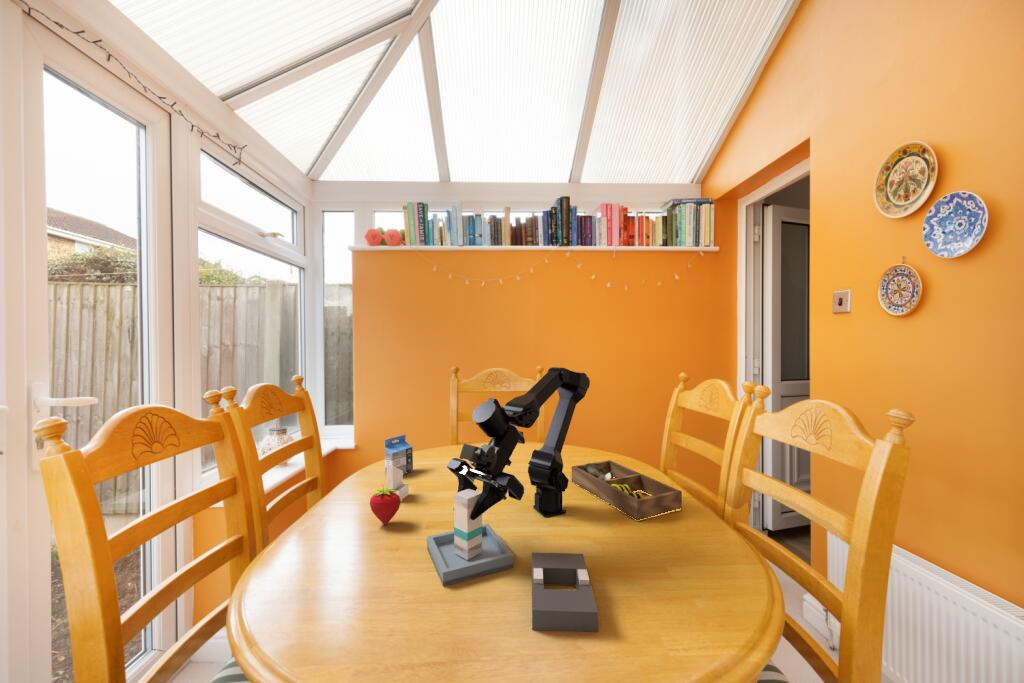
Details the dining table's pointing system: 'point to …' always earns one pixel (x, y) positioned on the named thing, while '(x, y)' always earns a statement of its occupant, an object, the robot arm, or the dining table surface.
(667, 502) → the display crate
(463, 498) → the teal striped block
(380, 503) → the strawberry
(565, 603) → the block
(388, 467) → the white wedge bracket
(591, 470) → the eagle figurine
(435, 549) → the tray
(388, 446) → the label tape box
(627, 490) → the yellow coil spring
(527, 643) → the dining table surface
